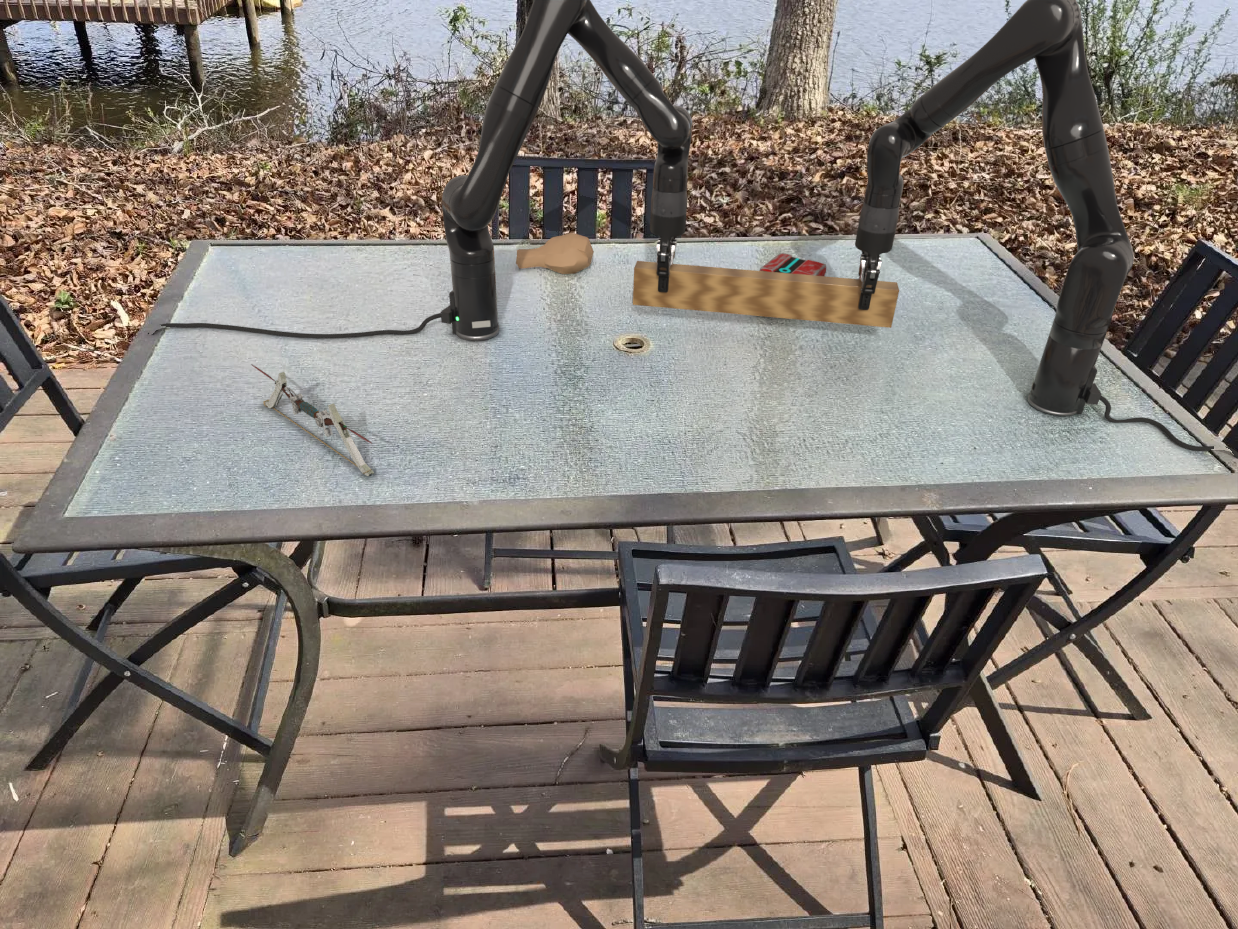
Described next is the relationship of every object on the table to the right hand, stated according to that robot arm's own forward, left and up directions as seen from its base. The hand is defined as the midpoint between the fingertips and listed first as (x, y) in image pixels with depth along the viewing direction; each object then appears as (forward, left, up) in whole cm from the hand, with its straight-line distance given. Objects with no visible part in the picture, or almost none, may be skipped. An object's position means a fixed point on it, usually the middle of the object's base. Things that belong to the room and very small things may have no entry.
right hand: (862, 303), depth 187 cm
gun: (+19, -26, -10) cm, 34 cm away
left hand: (+43, 0, 0) cm, 43 cm away
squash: (+74, -29, -10) cm, 80 cm away
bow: (+98, +59, -10) cm, 114 cm away
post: (+21, 0, -4) cm, 22 cm away
